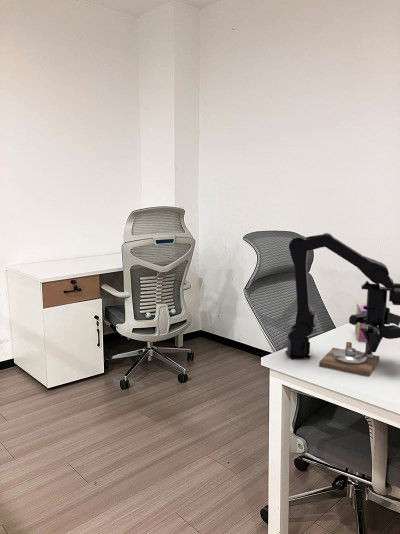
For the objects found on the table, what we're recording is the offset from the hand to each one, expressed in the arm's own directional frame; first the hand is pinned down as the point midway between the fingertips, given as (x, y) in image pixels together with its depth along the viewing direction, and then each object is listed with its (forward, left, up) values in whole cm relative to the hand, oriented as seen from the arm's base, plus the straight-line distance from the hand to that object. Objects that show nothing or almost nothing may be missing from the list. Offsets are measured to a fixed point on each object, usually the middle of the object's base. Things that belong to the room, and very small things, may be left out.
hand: (373, 352), depth 147 cm
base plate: (-7, +2, -4) cm, 8 cm away
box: (+10, +25, -4) cm, 27 cm away
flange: (-6, +2, -2) cm, 6 cm away
